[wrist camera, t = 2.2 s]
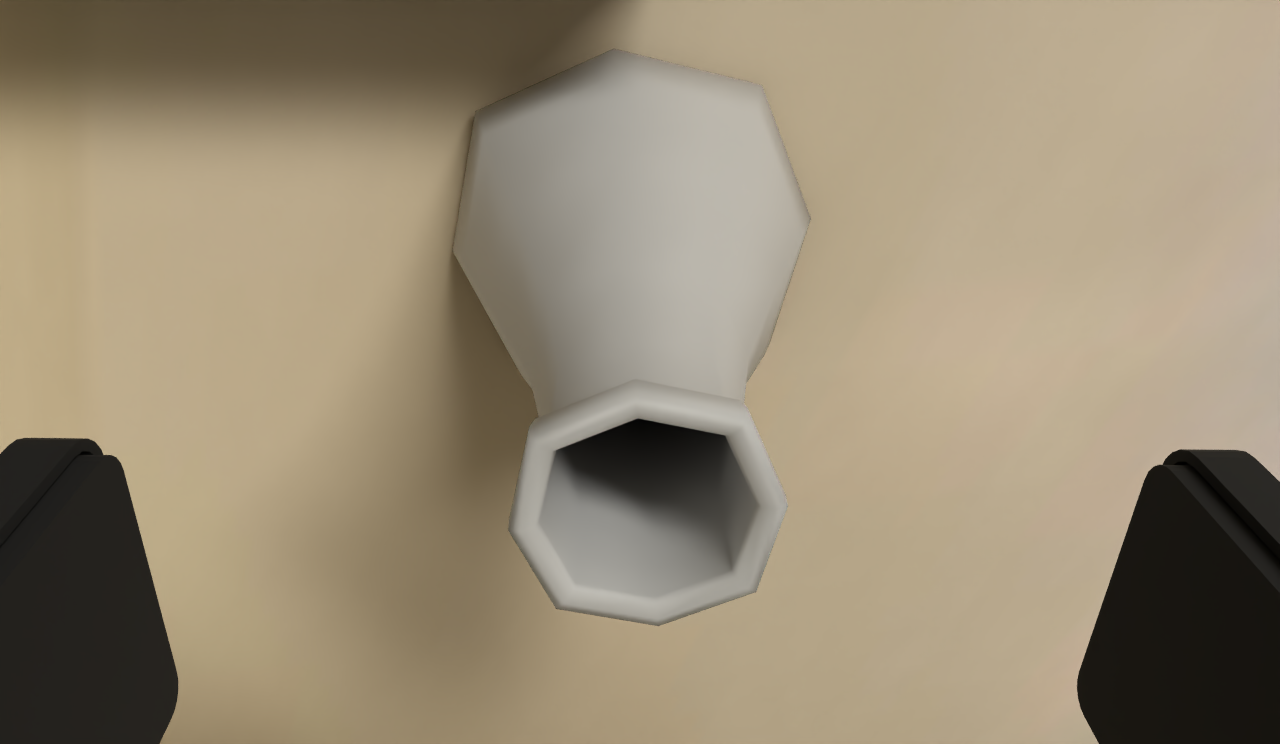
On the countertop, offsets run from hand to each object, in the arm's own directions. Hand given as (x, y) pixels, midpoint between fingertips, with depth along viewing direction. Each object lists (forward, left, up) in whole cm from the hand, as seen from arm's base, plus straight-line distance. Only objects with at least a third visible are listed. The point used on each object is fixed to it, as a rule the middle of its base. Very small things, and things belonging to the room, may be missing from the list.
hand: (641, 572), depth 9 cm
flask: (-1, 0, -12) cm, 12 cm away
